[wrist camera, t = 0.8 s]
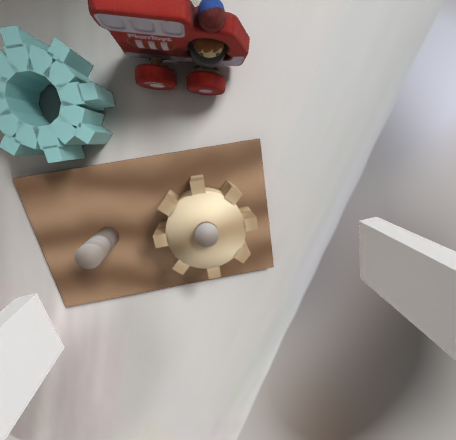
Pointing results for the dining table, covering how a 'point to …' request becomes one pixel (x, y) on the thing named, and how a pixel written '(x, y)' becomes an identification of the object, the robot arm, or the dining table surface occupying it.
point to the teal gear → (30, 95)
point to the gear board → (151, 221)
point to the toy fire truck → (175, 39)
